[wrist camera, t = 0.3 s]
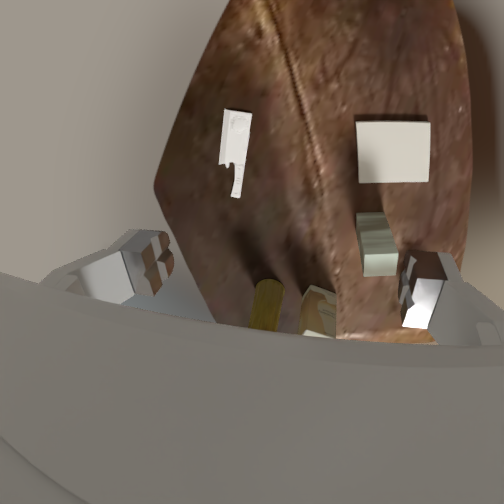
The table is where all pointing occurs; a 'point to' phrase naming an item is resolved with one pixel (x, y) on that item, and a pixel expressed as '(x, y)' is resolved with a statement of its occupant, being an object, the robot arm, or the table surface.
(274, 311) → the vase
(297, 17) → the table surface
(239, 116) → the butcher knife
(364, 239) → the handle block
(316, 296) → the skincare box
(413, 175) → the ceramic tile
